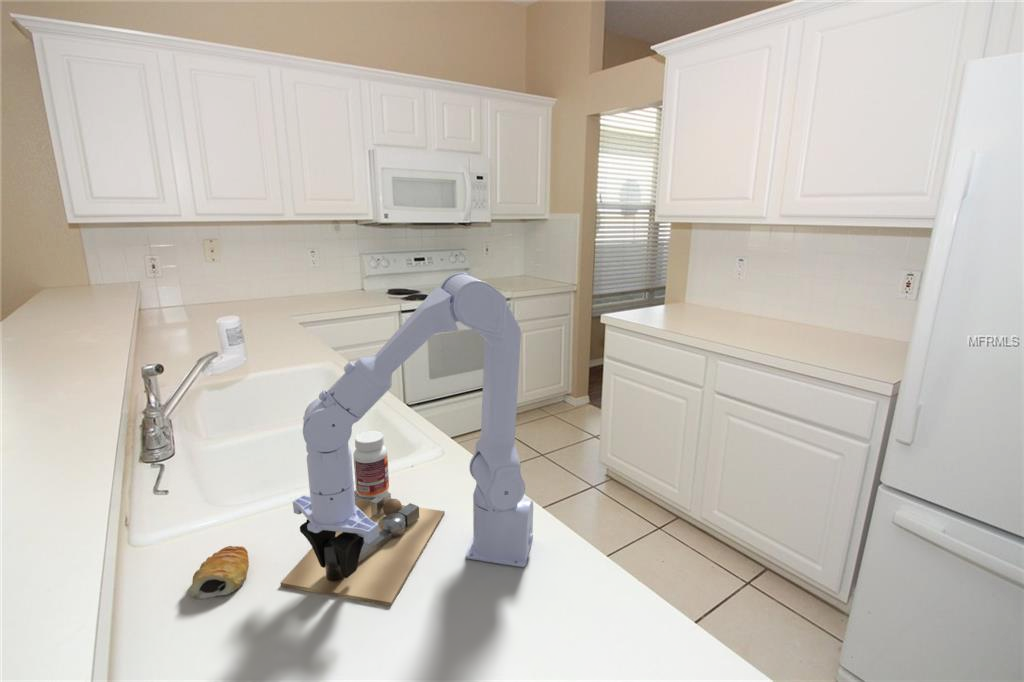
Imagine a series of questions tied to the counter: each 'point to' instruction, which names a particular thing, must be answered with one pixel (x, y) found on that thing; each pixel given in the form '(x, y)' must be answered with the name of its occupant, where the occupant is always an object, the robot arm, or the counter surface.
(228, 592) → the pastry
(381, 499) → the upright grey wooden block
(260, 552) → the counter surface
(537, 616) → the counter surface
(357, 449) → the pill bottle
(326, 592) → the board
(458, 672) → the counter surface
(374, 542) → the lever
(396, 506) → the brown ball
